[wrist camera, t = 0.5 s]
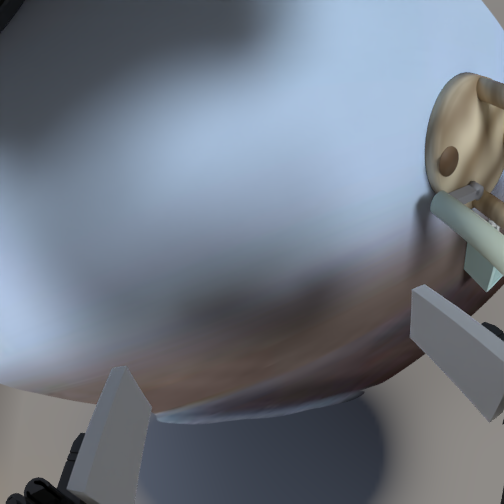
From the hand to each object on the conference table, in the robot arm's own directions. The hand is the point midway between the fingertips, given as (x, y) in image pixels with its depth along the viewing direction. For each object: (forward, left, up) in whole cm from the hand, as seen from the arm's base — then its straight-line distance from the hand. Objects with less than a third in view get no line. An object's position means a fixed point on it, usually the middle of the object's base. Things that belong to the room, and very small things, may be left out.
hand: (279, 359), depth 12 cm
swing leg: (+4, +26, -13) cm, 29 cm away
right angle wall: (+17, +45, -16) cm, 50 cm away
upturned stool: (-2, +32, -15) cm, 35 cm away
